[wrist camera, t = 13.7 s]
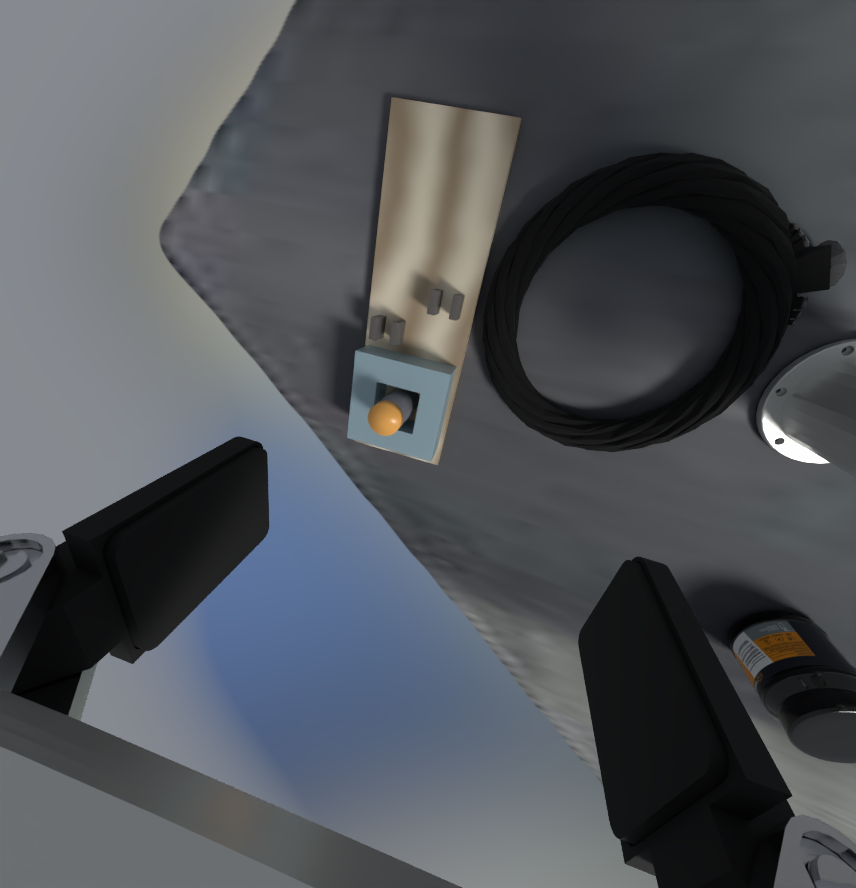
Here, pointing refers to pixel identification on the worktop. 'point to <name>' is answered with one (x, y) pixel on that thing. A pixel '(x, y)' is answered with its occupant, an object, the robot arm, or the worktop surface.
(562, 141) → the worktop surface
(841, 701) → the supplement container
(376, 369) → the end holder
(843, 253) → the cable lock
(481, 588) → the worktop surface
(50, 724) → the robot arm
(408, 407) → the connector plug
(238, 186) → the worktop surface
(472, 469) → the worktop surface
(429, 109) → the board
